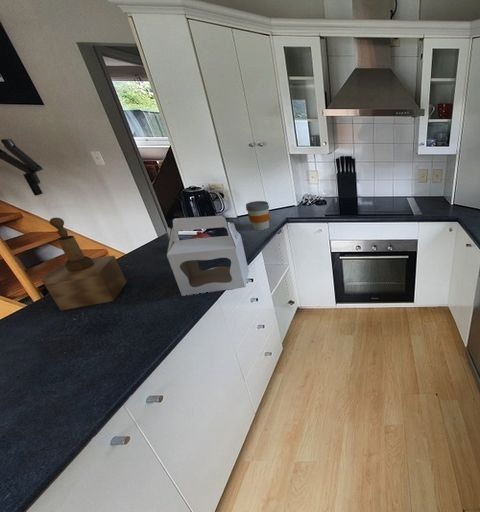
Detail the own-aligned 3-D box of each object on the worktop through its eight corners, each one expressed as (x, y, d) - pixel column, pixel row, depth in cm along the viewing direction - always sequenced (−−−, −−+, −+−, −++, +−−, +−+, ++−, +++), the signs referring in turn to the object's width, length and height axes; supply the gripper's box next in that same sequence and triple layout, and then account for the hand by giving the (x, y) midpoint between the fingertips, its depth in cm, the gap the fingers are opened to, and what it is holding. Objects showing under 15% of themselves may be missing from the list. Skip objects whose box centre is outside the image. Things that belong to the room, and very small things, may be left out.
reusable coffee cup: (255, 232, 159) (250, 208, 153) (246, 227, 167) (241, 203, 160) (276, 227, 168) (272, 203, 161) (266, 222, 175) (262, 199, 168)
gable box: (249, 271, 119) (235, 209, 106) (246, 287, 108) (230, 220, 95) (191, 278, 112) (168, 213, 100) (180, 296, 101) (154, 225, 89)
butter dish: (188, 246, 141) (183, 230, 137) (213, 240, 148) (208, 226, 144) (192, 253, 133) (187, 237, 129) (218, 247, 140) (214, 232, 136)
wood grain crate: (60, 310, 92) (41, 280, 87) (80, 289, 104) (64, 262, 98) (113, 301, 98) (99, 272, 93) (126, 282, 109) (114, 255, 104)
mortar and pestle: (78, 263, 98) (52, 215, 90) (98, 261, 99) (75, 214, 91) (62, 272, 92) (32, 221, 84) (84, 270, 93) (57, 220, 85)
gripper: (-126, 119, 67) (-65, 203, 77) (18, 121, 77) (56, 195, 86) (-96, 118, 73) (-43, 196, 83) (34, 121, 83) (68, 190, 92)
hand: (8, 196), depth 85 cm, fingers open, 13 cm apart
